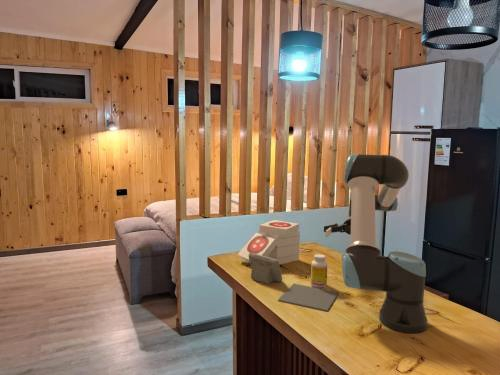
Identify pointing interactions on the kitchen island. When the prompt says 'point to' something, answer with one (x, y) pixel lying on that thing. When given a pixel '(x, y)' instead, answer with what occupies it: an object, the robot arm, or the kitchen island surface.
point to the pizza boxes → (274, 242)
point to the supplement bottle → (319, 271)
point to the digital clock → (264, 268)
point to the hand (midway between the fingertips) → (342, 235)
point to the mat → (309, 297)
